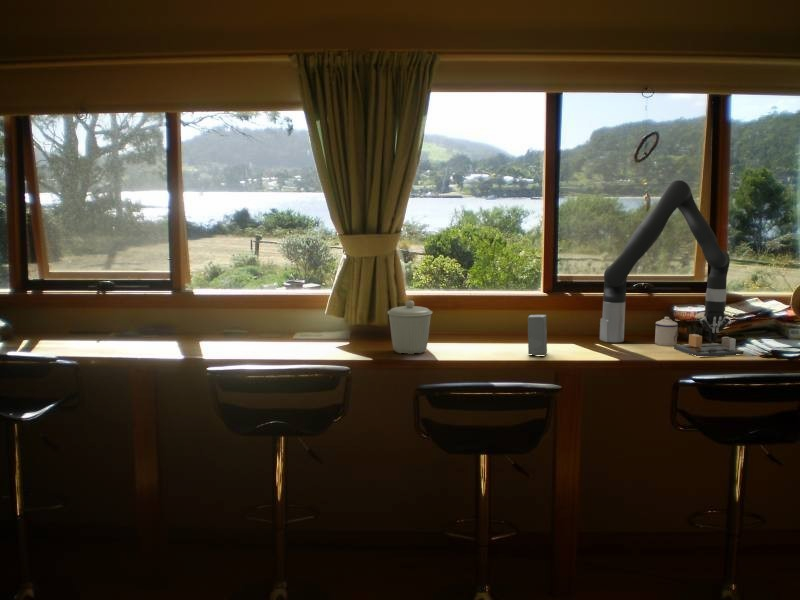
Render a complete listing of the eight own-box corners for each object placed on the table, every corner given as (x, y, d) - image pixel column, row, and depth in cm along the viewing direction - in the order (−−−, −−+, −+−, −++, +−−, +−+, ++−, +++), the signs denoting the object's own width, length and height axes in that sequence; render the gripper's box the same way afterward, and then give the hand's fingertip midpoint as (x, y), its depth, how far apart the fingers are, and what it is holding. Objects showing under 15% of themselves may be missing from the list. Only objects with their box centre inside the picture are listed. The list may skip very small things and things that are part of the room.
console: (699, 357, 271) (699, 353, 271) (673, 348, 288) (673, 344, 288) (744, 355, 276) (744, 351, 275) (716, 346, 292) (716, 342, 292)
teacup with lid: (678, 346, 292) (680, 319, 290) (655, 345, 294) (657, 318, 292) (673, 341, 303) (675, 314, 302) (651, 340, 305) (653, 313, 304)
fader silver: (729, 350, 276) (729, 339, 276) (721, 347, 281) (721, 336, 280) (735, 350, 277) (735, 338, 276) (727, 347, 281) (727, 336, 281)
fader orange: (695, 347, 282) (696, 336, 281) (688, 344, 287) (689, 333, 286) (701, 347, 283) (702, 335, 282) (694, 344, 287) (694, 333, 287)
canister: (387, 347, 292) (387, 297, 289) (431, 347, 292) (431, 297, 289) (387, 357, 274) (387, 303, 271) (433, 356, 274) (433, 303, 271)
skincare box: (544, 357, 272) (545, 317, 270) (526, 356, 275) (526, 316, 273) (547, 353, 280) (548, 314, 278) (529, 351, 283) (530, 313, 280)
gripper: (723, 297, 289) (721, 339, 291) (695, 298, 286) (692, 340, 288) (736, 300, 281) (733, 342, 284) (707, 301, 279) (704, 344, 281)
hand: (712, 341), depth 286 cm, fingers closed
